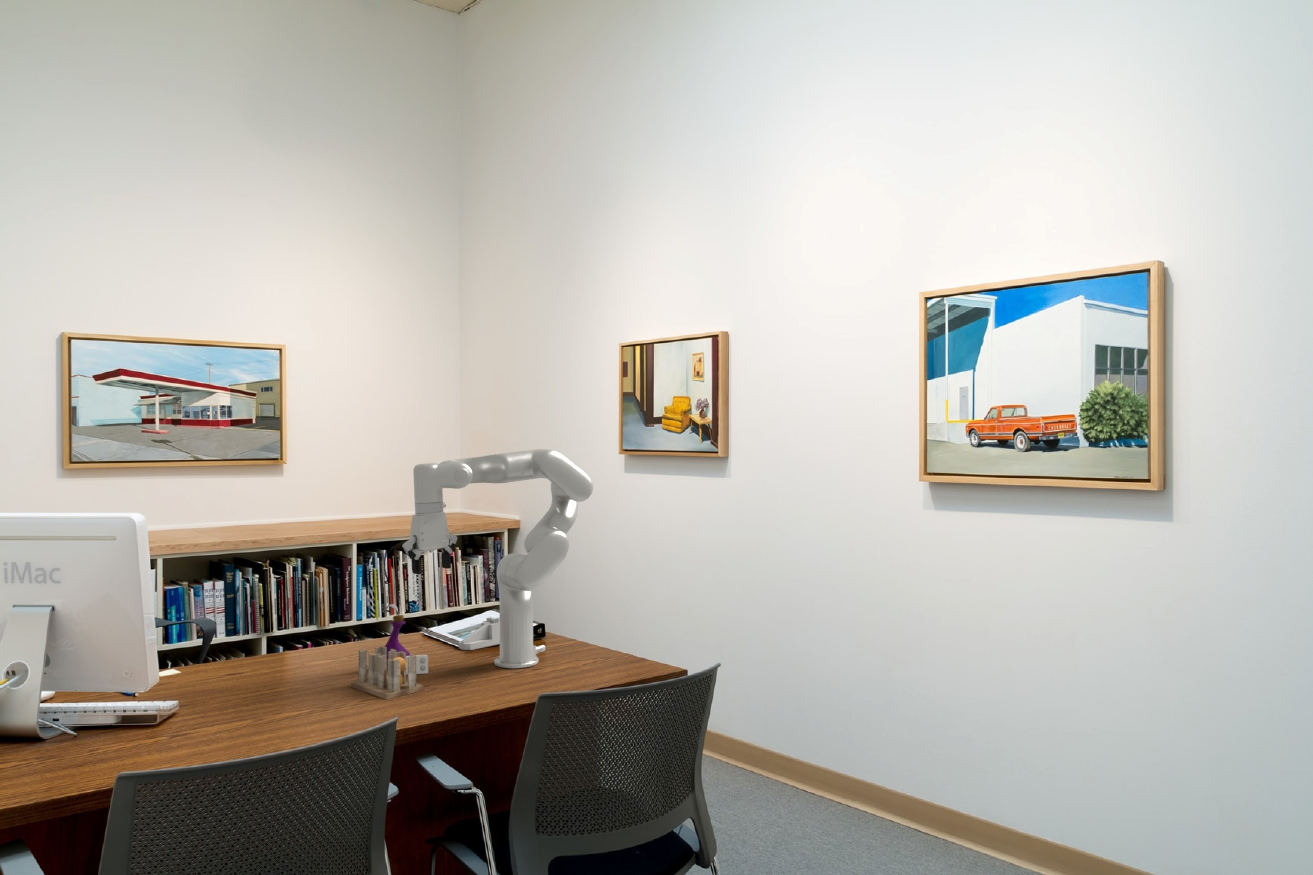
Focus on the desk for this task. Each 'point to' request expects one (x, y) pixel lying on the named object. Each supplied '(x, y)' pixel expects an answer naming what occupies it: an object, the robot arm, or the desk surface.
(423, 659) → the card
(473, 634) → the sloped support bracket
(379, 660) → the ball rack
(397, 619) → the purple potion bottle
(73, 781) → the desk surface
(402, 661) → the orange ball
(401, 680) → the seated orange ball
